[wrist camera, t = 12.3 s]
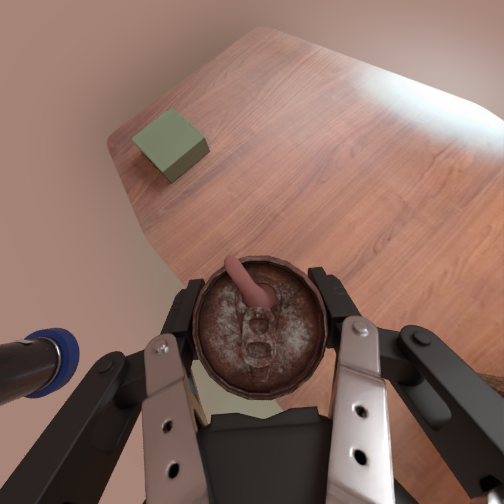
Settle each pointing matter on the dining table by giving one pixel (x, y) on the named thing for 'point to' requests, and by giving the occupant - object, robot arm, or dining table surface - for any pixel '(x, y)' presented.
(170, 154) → the plate
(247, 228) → the dining table surface
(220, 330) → the can
